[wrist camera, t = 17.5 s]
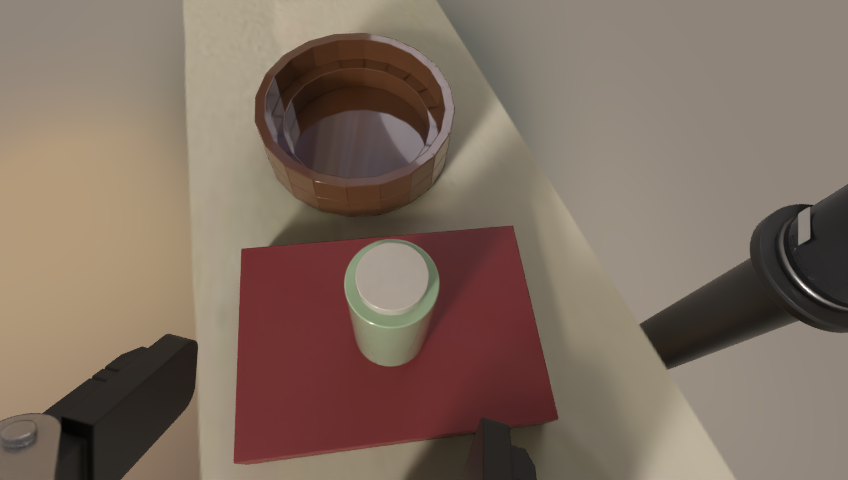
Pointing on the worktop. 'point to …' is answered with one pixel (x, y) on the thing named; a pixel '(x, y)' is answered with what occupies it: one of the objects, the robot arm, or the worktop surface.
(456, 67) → the worktop surface
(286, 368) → the book
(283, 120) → the bowl
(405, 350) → the pepper shaker
